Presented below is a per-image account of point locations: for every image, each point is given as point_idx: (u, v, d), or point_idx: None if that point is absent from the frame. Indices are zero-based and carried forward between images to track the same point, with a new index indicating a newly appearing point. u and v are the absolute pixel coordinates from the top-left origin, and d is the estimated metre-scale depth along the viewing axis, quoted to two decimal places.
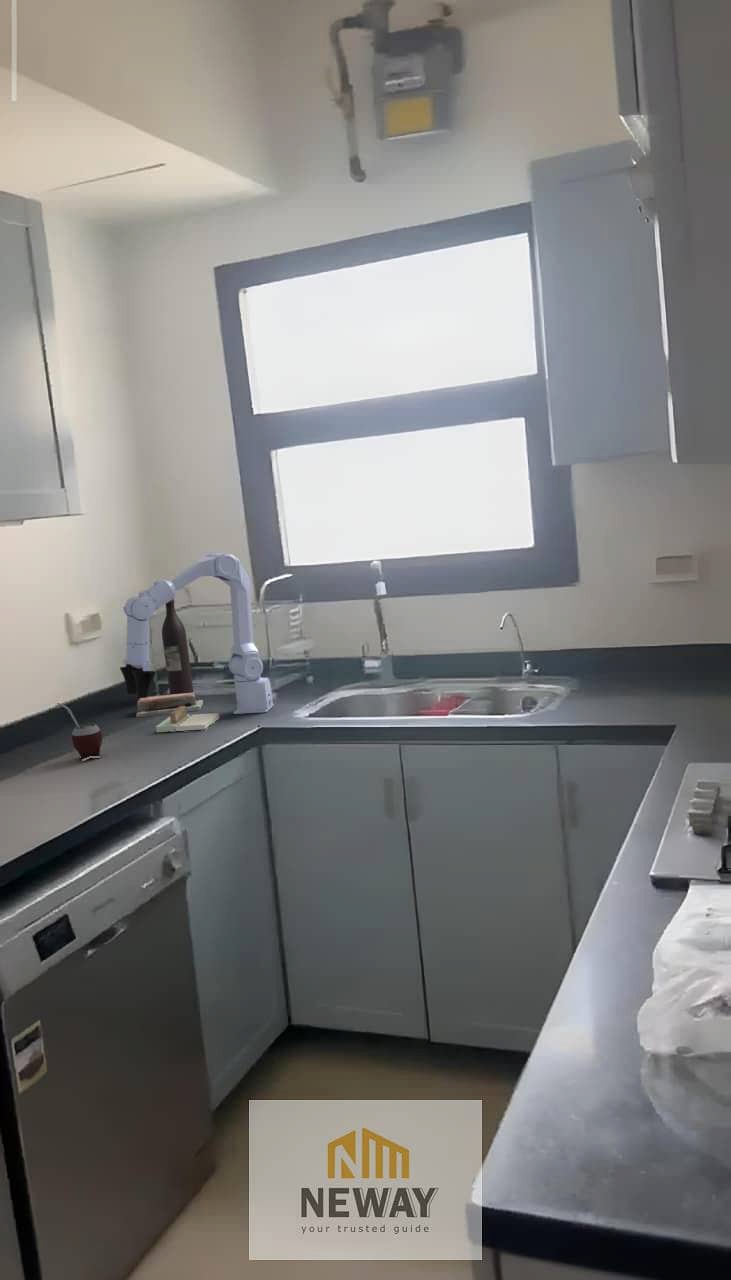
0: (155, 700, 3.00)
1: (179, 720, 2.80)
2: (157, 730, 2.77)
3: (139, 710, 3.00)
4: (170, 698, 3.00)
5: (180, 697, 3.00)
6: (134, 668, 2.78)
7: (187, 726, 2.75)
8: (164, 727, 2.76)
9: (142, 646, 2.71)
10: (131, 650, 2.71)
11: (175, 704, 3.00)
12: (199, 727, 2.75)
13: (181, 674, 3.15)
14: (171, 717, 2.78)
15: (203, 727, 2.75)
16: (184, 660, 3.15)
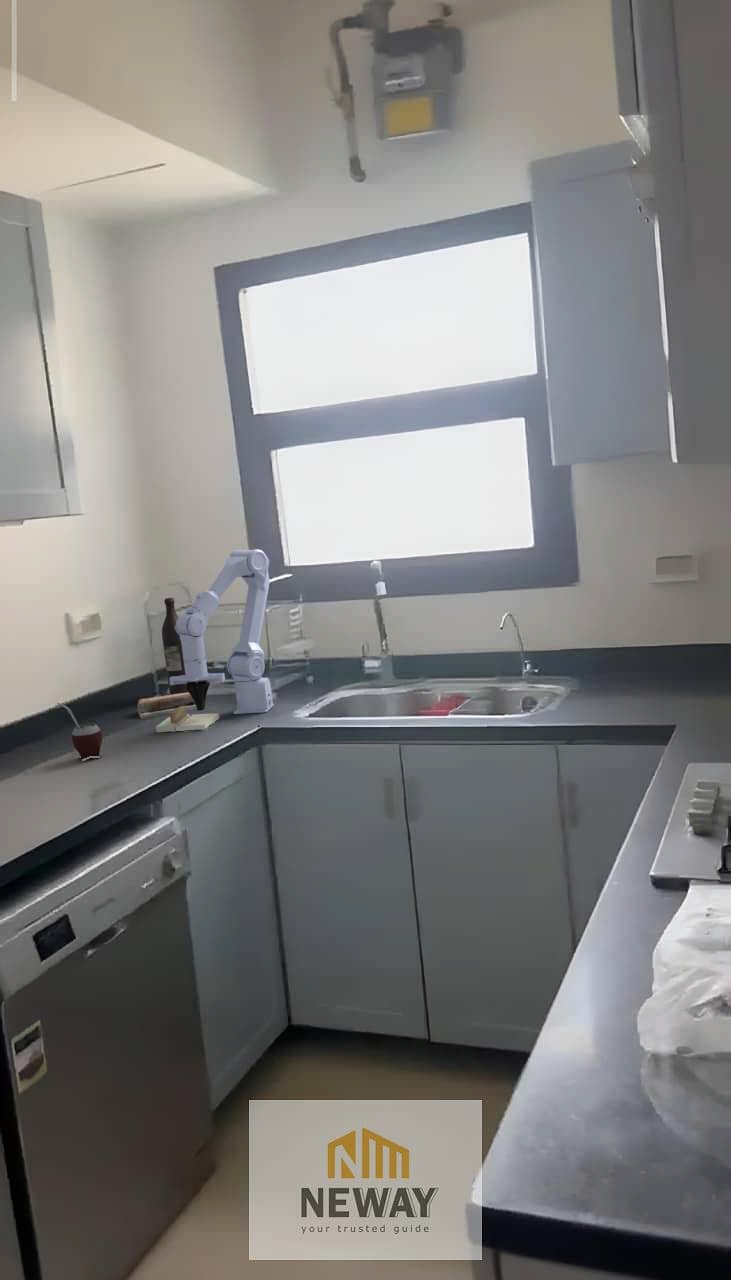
0: (158, 700, 2.99)
1: (179, 720, 2.80)
2: (157, 730, 2.77)
3: (142, 711, 2.97)
4: (173, 698, 3.00)
5: (183, 696, 3.01)
6: None
7: (187, 726, 2.75)
8: (164, 727, 2.76)
9: (205, 660, 2.78)
10: (198, 667, 2.76)
11: (178, 703, 3.00)
12: (199, 727, 2.75)
13: (181, 674, 3.15)
14: (171, 717, 2.78)
15: (203, 727, 2.75)
16: None
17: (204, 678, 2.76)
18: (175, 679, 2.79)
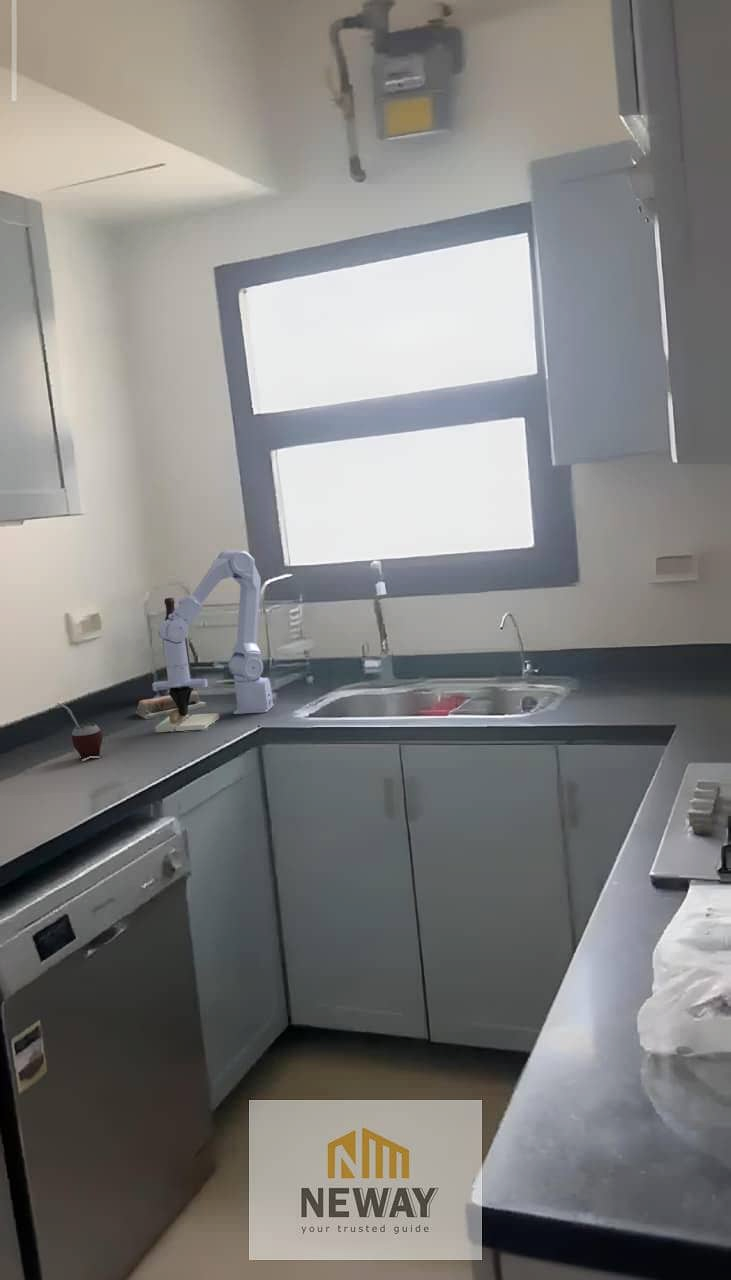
0: (161, 701, 2.98)
1: (178, 720, 2.80)
2: (156, 730, 2.77)
3: (146, 712, 2.96)
4: None
5: None
6: (180, 690, 2.81)
7: (187, 726, 2.75)
8: (163, 727, 2.77)
9: (188, 666, 2.79)
10: (181, 672, 2.77)
11: None
12: (199, 727, 2.75)
13: None
14: (170, 717, 2.78)
15: (203, 727, 2.75)
16: None
17: (187, 684, 2.77)
18: (158, 685, 2.80)
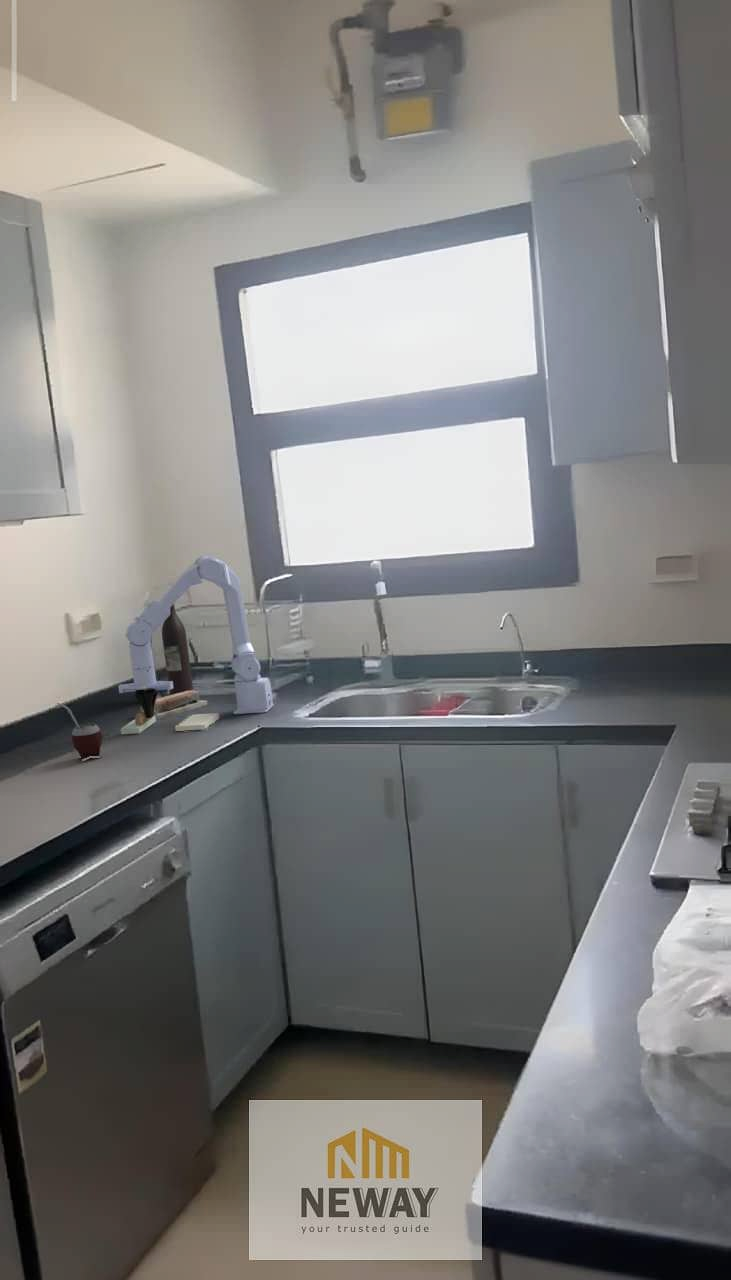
0: (166, 700, 2.98)
1: (144, 722, 2.82)
2: (122, 732, 2.79)
3: (154, 712, 2.94)
4: (178, 697, 3.01)
5: (187, 695, 3.02)
6: None
7: (187, 726, 2.75)
8: (129, 729, 2.78)
9: (153, 668, 2.81)
10: (146, 675, 2.79)
11: (183, 702, 3.02)
12: (199, 727, 2.75)
13: (181, 674, 3.15)
14: (136, 719, 2.80)
15: (203, 727, 2.75)
16: (184, 660, 3.15)
17: (152, 686, 2.79)
18: (124, 687, 2.81)
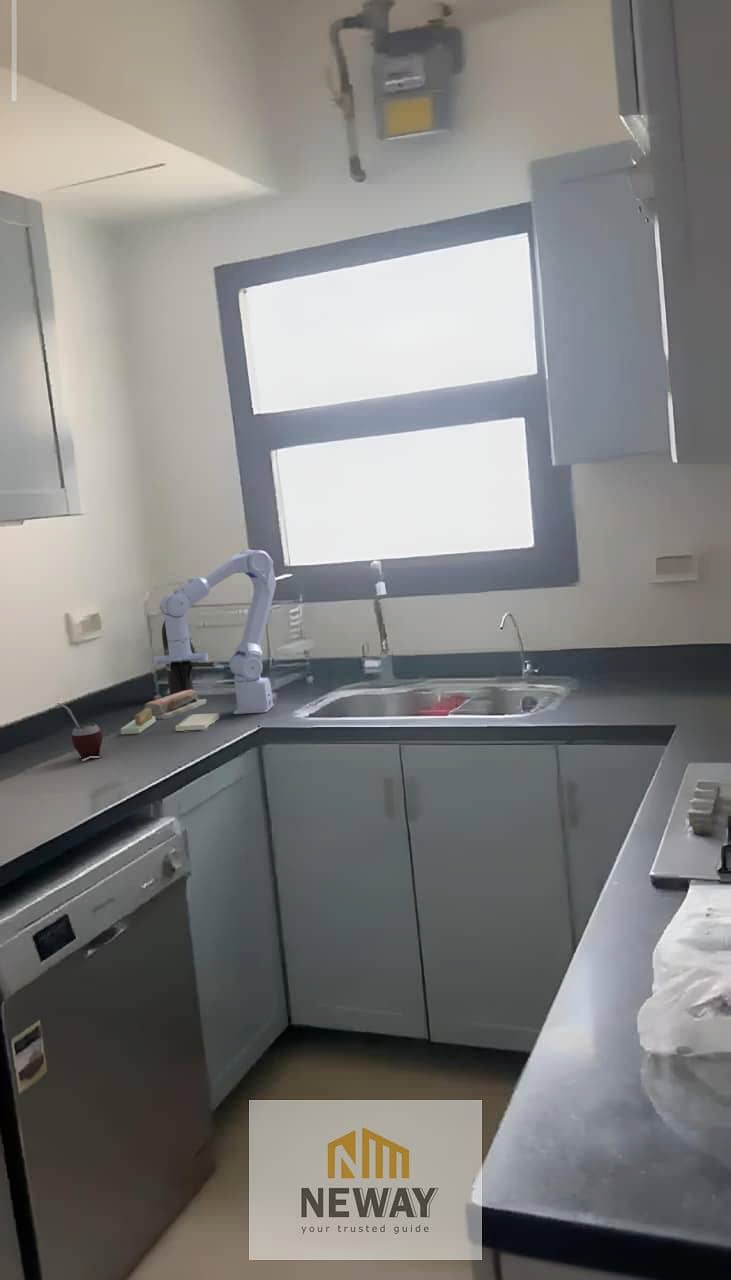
0: (171, 700, 2.97)
1: (144, 722, 2.82)
2: (122, 732, 2.79)
3: (162, 712, 2.94)
4: (181, 696, 3.01)
5: (187, 694, 3.03)
6: None
7: (187, 726, 2.75)
8: (129, 729, 2.78)
9: (188, 640, 2.80)
10: (182, 646, 2.78)
11: (185, 701, 3.02)
12: (199, 727, 2.75)
13: None
14: (136, 719, 2.80)
15: (203, 727, 2.75)
16: None
17: (187, 658, 2.78)
18: (159, 659, 2.80)
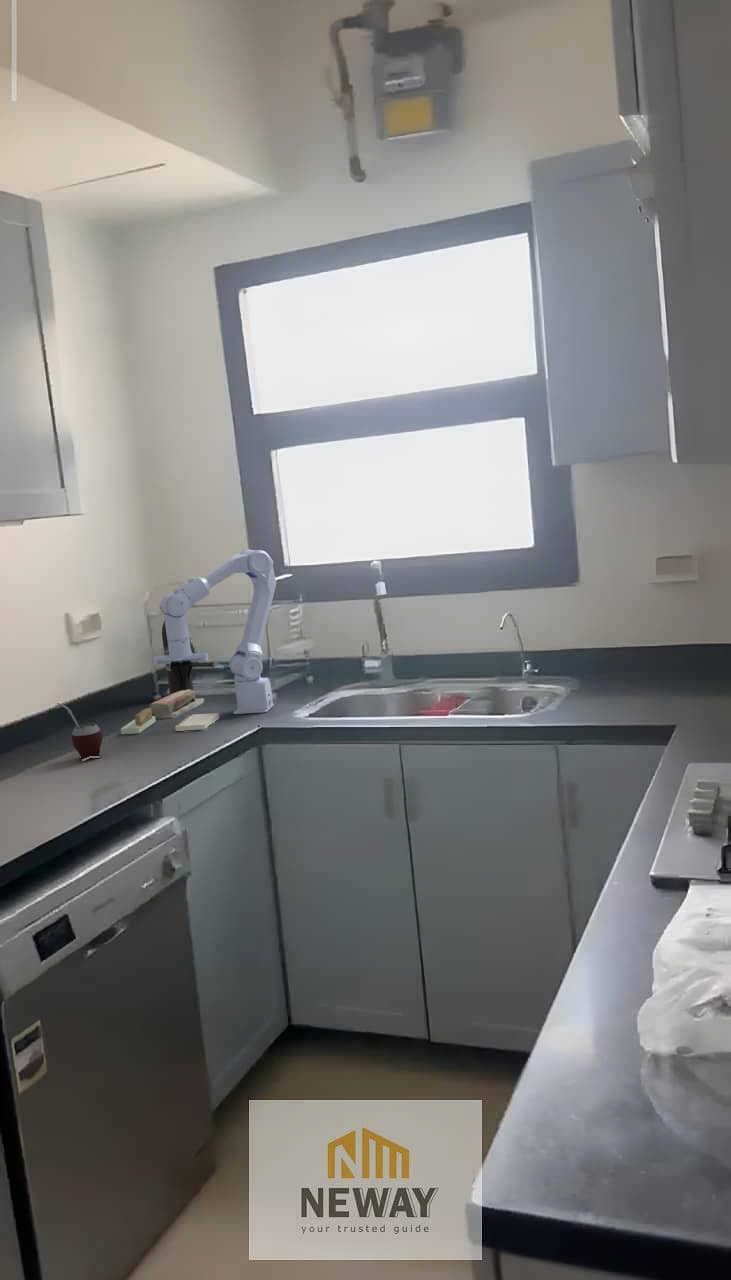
0: (176, 699, 2.98)
1: (144, 722, 2.82)
2: (122, 732, 2.79)
3: (170, 712, 2.93)
4: (183, 696, 3.02)
5: (187, 693, 3.04)
6: None
7: (187, 726, 2.75)
8: (129, 729, 2.78)
9: (188, 640, 2.80)
10: (182, 646, 2.78)
11: (186, 700, 3.03)
12: (199, 727, 2.75)
13: None
14: (136, 719, 2.80)
15: (203, 727, 2.75)
16: None
17: (188, 658, 2.78)
18: (159, 659, 2.80)
